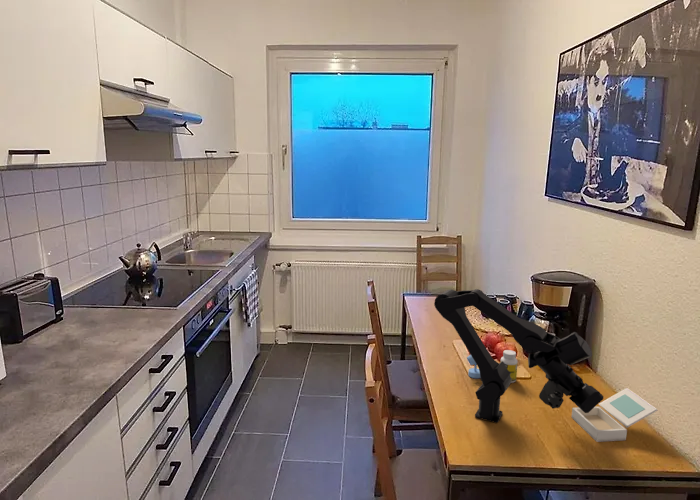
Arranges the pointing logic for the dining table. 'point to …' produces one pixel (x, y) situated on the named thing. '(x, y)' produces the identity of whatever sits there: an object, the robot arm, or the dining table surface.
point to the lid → (627, 407)
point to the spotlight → (473, 371)
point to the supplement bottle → (510, 363)
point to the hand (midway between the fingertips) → (590, 405)
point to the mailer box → (599, 425)
